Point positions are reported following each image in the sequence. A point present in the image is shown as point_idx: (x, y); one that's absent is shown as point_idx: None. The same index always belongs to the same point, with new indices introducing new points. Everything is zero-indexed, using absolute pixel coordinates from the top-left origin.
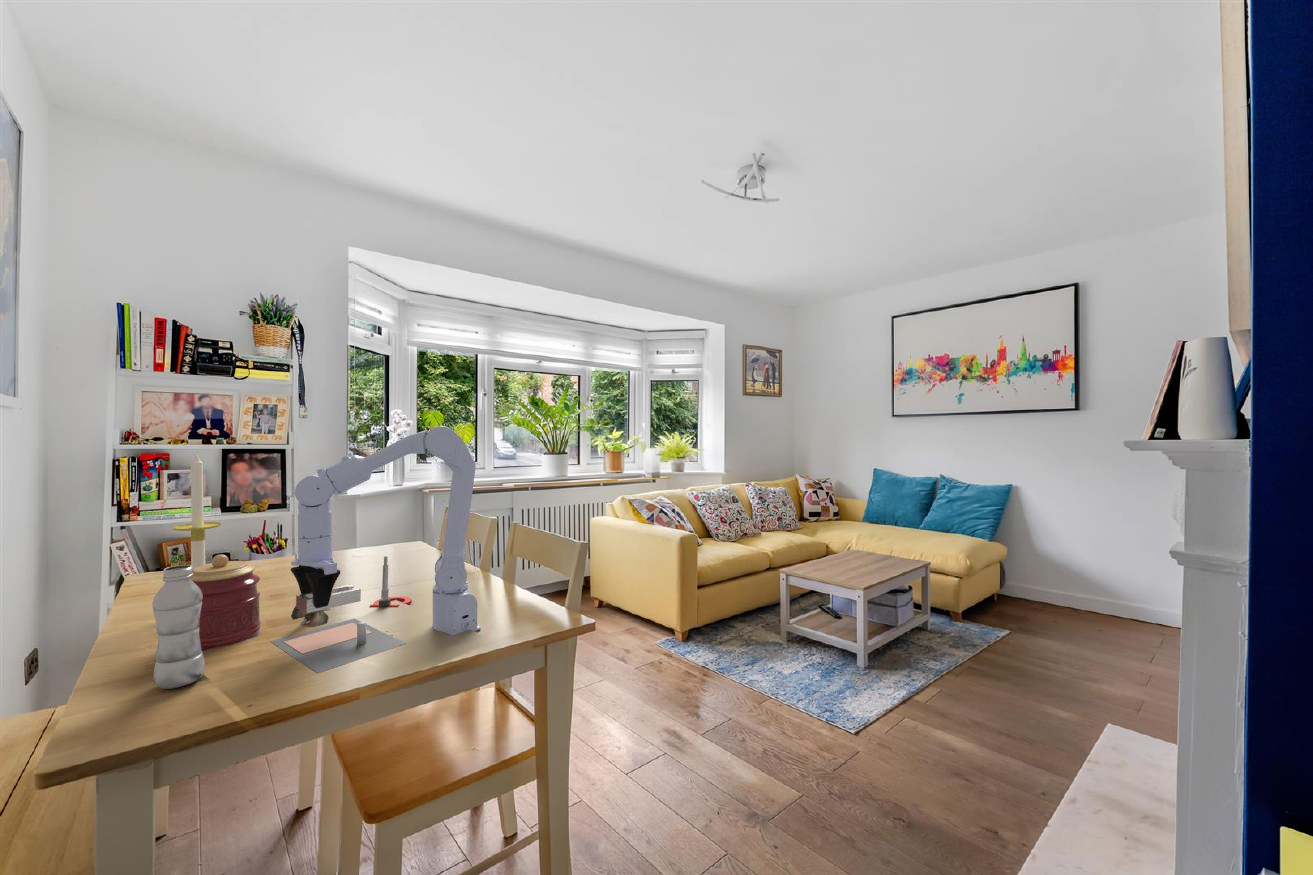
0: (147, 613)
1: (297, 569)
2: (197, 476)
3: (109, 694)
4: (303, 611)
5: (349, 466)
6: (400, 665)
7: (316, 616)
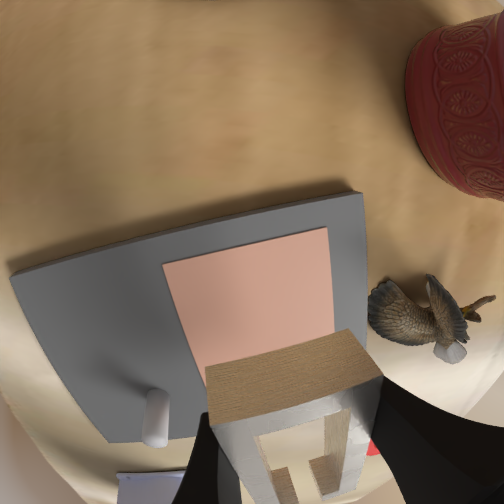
0: None
1: (483, 497)
2: None
3: None
4: (247, 357)
5: None
6: (33, 402)
7: (418, 327)
